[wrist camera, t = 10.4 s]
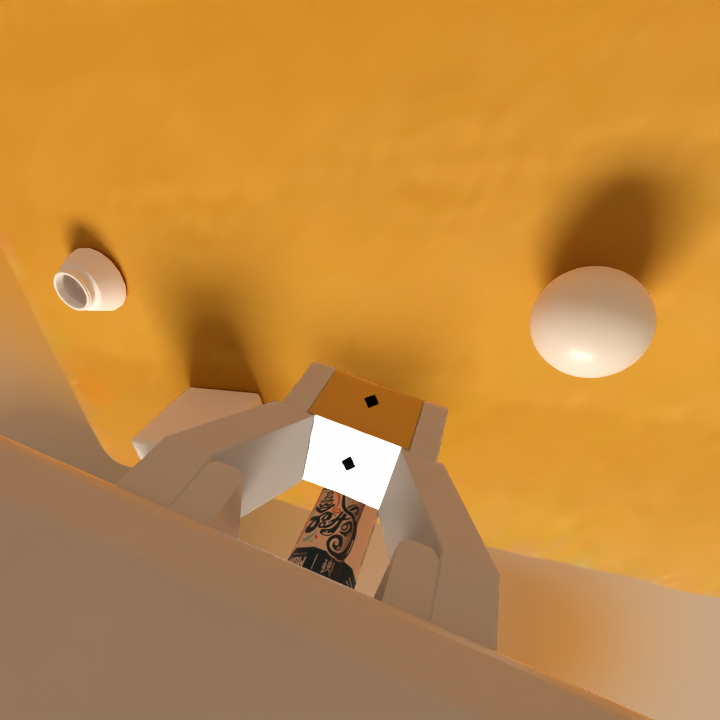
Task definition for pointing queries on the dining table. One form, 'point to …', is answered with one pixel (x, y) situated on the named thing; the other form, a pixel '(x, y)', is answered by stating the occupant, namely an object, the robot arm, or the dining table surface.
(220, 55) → the dining table surface
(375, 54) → the dining table surface
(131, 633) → the robot arm
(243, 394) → the medicine bottle
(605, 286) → the cue ball
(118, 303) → the white jar
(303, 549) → the beer can
